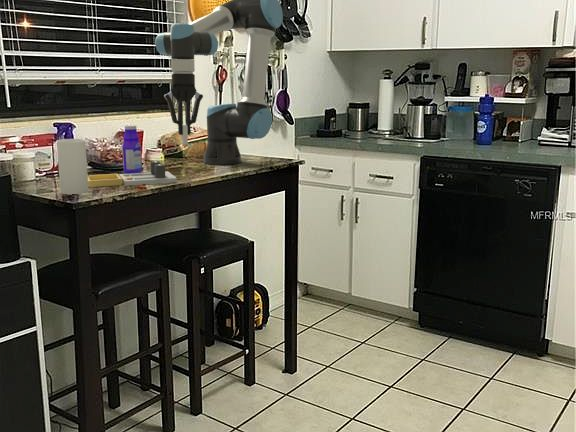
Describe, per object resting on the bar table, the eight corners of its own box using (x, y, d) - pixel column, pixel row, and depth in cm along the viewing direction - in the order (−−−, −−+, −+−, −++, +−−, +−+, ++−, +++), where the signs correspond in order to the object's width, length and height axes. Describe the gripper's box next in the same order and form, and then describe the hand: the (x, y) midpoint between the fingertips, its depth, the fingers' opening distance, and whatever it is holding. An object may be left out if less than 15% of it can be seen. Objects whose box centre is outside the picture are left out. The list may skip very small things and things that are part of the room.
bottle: (136, 175, 221) (133, 126, 217) (121, 175, 222) (118, 126, 218) (144, 172, 228) (142, 124, 224) (130, 171, 229) (127, 124, 225)
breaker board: (168, 175, 222) (167, 169, 222) (176, 182, 210) (176, 176, 209) (119, 178, 216) (118, 172, 216) (125, 185, 203) (124, 179, 203)
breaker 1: (159, 172, 218) (159, 160, 217) (161, 173, 216) (160, 162, 215) (150, 173, 217) (150, 161, 216) (152, 174, 215) (151, 162, 214)
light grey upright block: (93, 192, 193) (90, 140, 189) (69, 196, 187) (65, 142, 184) (79, 188, 199) (76, 138, 195) (55, 192, 193) (51, 140, 189)
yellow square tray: (117, 179, 214) (117, 173, 214) (122, 184, 205) (121, 178, 204) (85, 181, 210) (85, 175, 210) (88, 187, 201) (88, 180, 200)
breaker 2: (163, 175, 212) (163, 163, 211) (165, 177, 209) (164, 165, 208) (154, 176, 211) (154, 164, 210) (156, 177, 208) (155, 165, 207)
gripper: (199, 73, 211) (200, 142, 217) (161, 72, 206) (163, 143, 212) (205, 73, 204) (206, 145, 210) (165, 72, 200) (167, 146, 205)
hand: (184, 144), depth 211 cm, fingers closed
